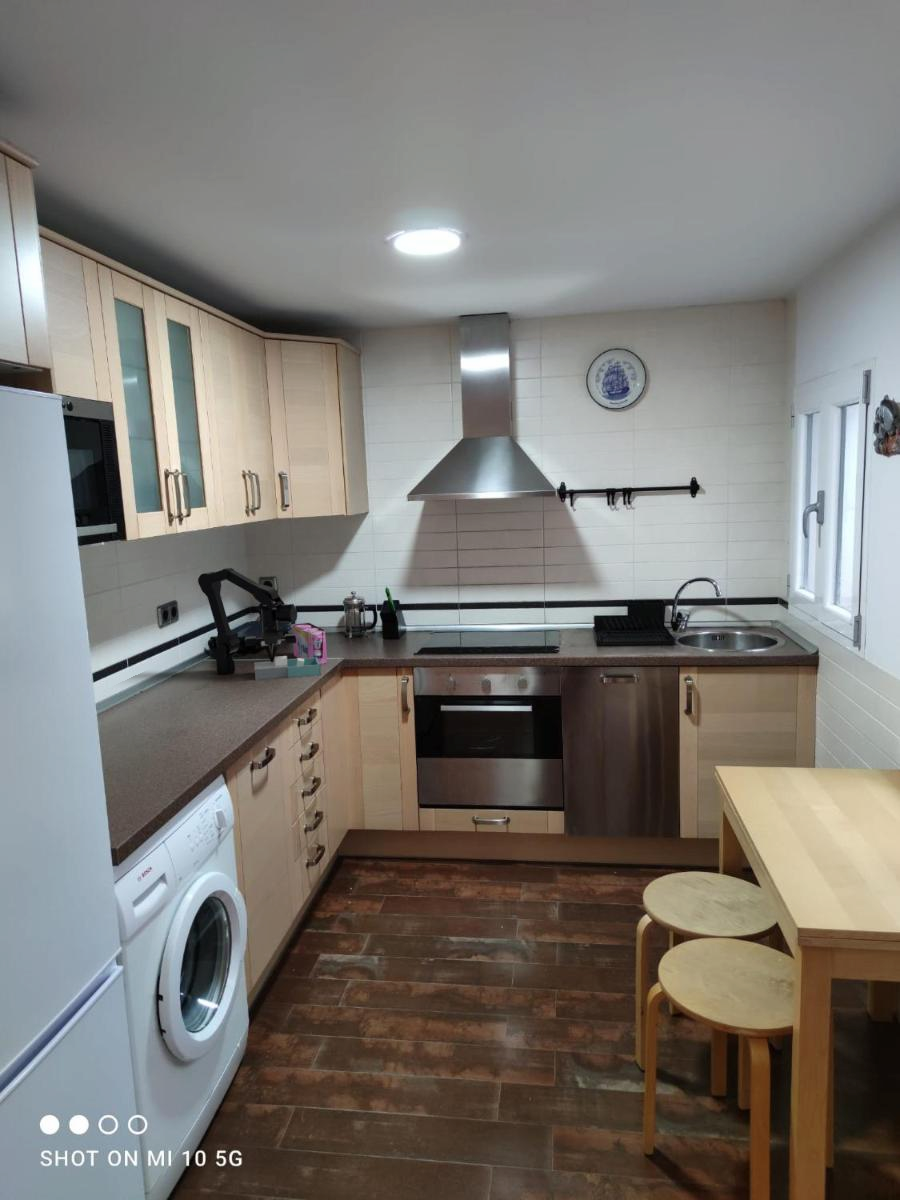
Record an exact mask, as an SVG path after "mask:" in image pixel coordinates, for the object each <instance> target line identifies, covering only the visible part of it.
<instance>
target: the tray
mask: <svg viewBox="0 0 900 1200" xmlns="http://www.w3.org/2000/svg"><path fill="white" fill-rule="evenodd" d="M302 659H304V666H296V664H297V658H292V659H290V658H289V659H288V658H287V666H288V677H287V678H288V679H289V678H290V679H292V678H293V679H294V678H303V677H302V676H306V677H314V676H315V677H316V676H317V677H318V676H321V675H322V671H321V667H322V666H321V664H320V663H319V661H318V658H317V657H314V658H302Z"/></svg>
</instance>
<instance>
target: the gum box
mask: <svg viewBox="0 0 900 1200" xmlns="http://www.w3.org/2000/svg"><path fill="white" fill-rule="evenodd" d="M291 628H292V629H291V630H292V634H295V635H296V643H292V645H293V646H292V647H293V649H292V650H293V656H294V657H296V659H297V658H314V657H317V658H318V661H319V663H320V665H323V664H324V663H326V664H327V663H328V659H327V658H328V655H327V640H326V638H327V637H326V630H325V629H324V628H321V627H318V626H317V625H315V624H313V623H311V622H303V623H301V622H300V623H293V624H292V627H291Z"/></svg>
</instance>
